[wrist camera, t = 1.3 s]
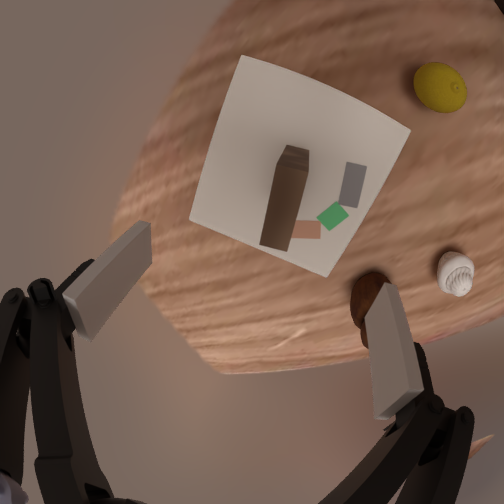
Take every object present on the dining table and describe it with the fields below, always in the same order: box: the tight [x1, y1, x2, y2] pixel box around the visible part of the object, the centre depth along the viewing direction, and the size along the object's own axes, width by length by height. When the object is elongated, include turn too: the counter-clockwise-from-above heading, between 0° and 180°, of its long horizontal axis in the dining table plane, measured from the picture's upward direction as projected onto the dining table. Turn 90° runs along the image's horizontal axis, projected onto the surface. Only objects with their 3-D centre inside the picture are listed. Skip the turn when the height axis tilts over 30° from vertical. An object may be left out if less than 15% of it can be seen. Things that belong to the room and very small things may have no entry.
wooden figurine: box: [350, 273, 392, 349], centre depth 31 cm, size 7×6×15 cm
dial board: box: [189, 55, 411, 278], centre depth 30 cm, size 20×22×2 cm
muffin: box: [437, 251, 474, 297], centre depth 29 cm, size 6×6×7 cm
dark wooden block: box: [259, 145, 309, 252], centre depth 27 cm, size 2×13×10 cm, turn 170°
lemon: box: [413, 62, 467, 113], centre depth 18 cm, size 6×6×8 cm
